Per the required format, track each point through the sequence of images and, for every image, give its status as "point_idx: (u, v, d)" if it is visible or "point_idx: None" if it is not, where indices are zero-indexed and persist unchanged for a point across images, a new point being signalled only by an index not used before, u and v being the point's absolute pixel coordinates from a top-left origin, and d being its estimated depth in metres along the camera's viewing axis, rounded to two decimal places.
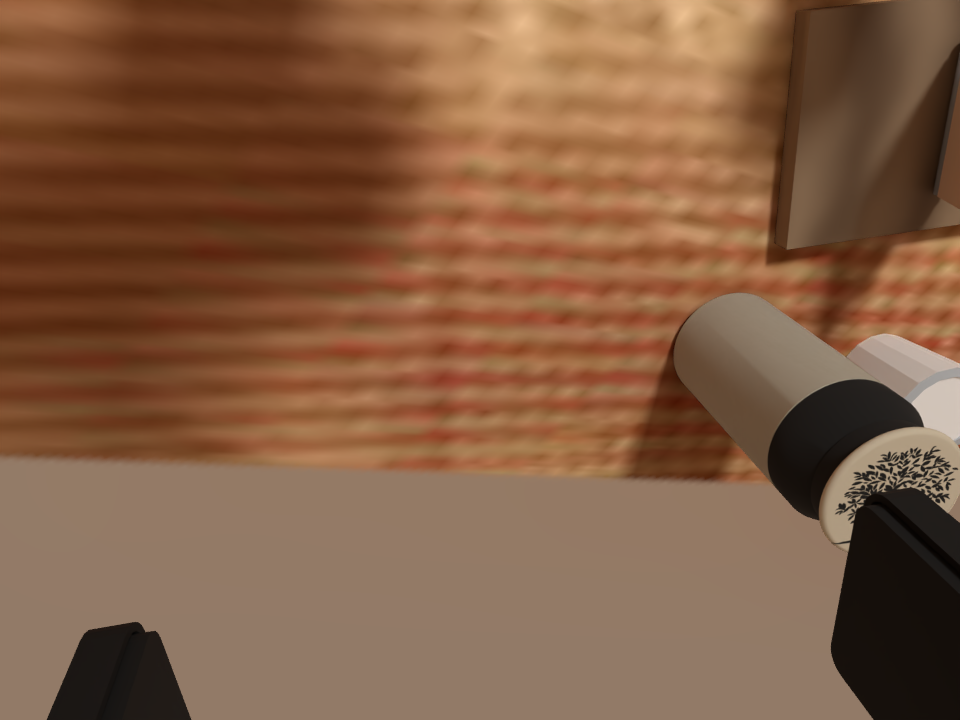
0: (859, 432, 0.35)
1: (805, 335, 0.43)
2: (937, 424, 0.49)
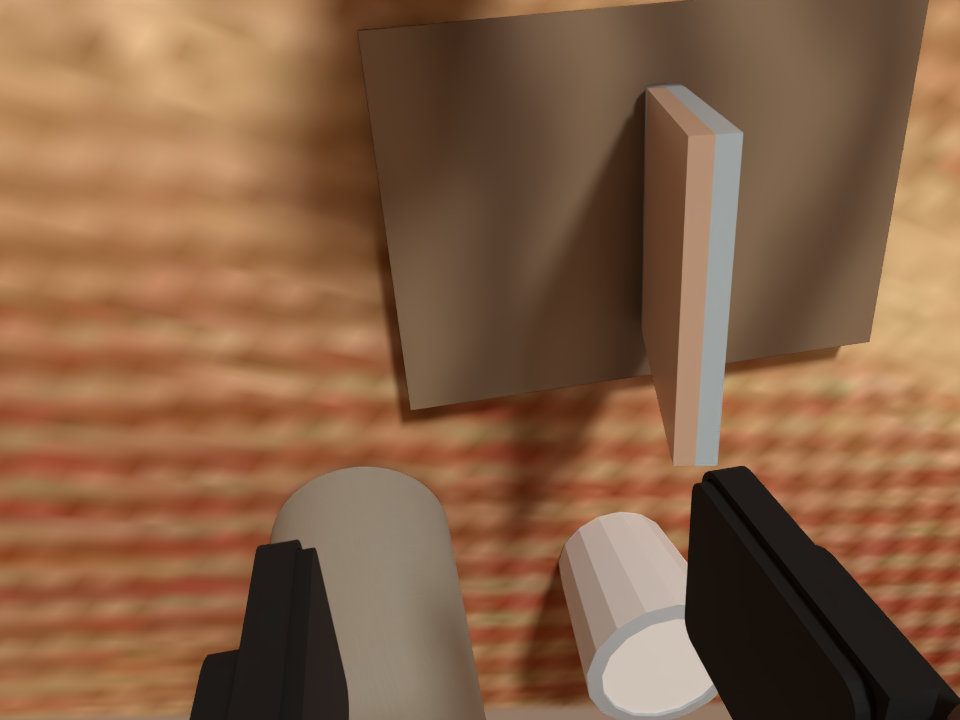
0: None
1: (381, 580, 0.25)
2: (663, 680, 0.31)
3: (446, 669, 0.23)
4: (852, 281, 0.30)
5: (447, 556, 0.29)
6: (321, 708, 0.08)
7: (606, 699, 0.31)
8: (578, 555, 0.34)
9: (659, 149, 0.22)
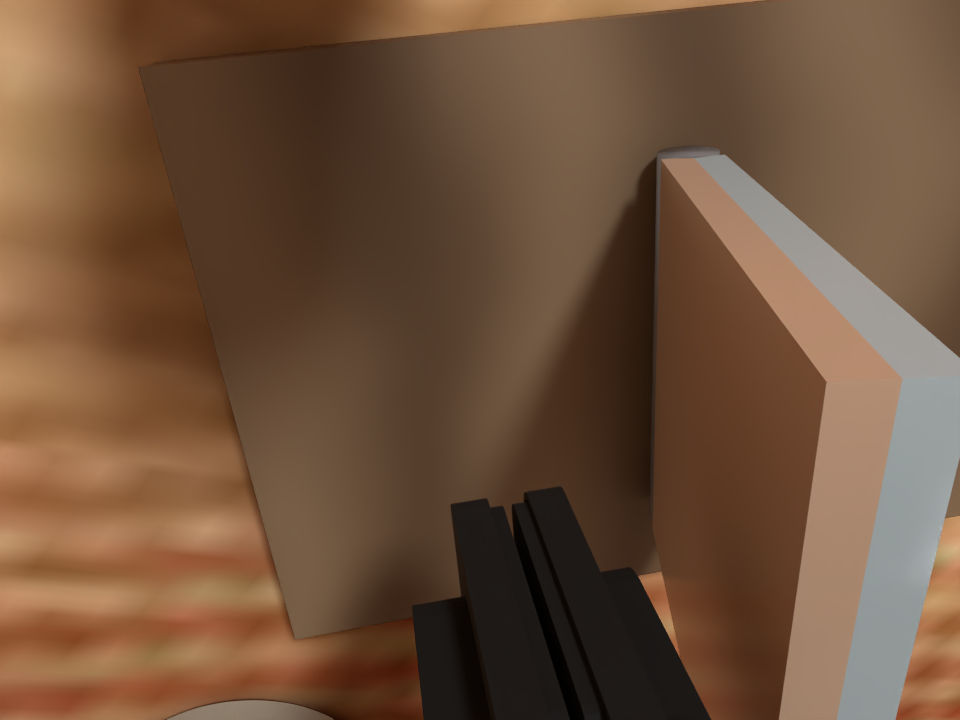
0: None
1: None
2: None
3: None
4: None
5: None
6: None
7: None
8: None
9: (696, 294, 0.11)
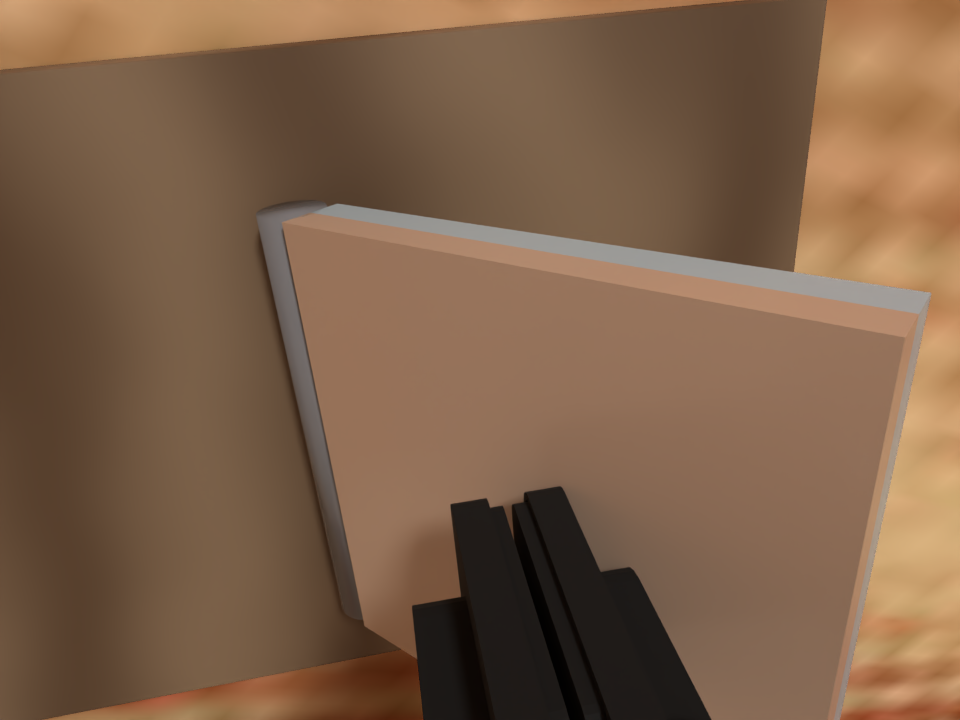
0: None
1: None
2: None
3: None
4: None
5: None
6: None
7: None
8: None
9: (472, 343, 0.10)
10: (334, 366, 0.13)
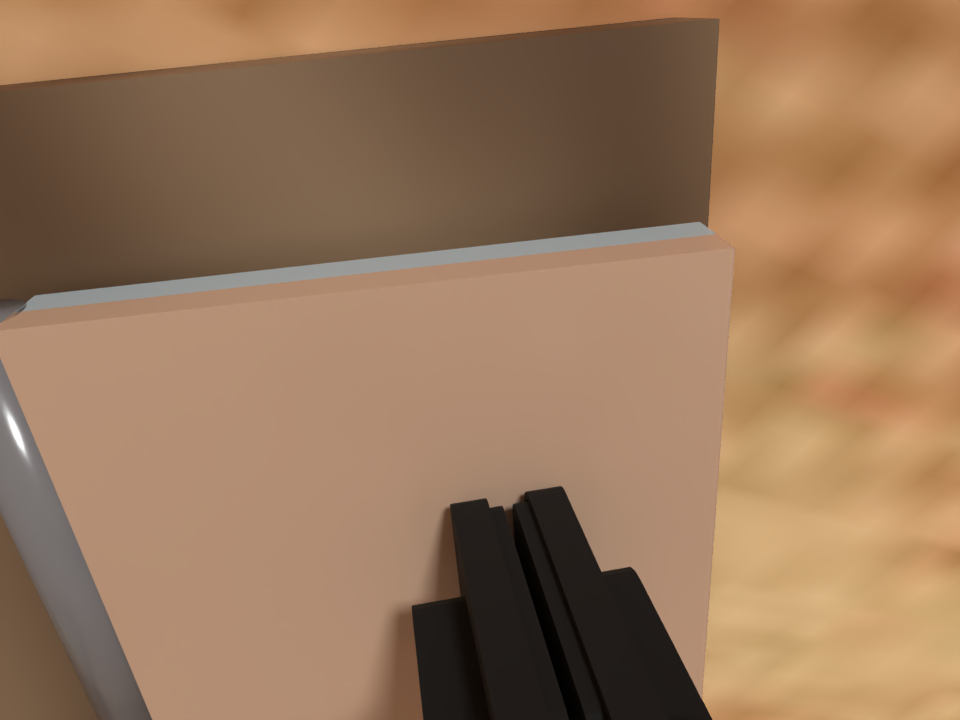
0: None
1: None
2: None
3: None
4: None
5: None
6: None
7: None
8: None
9: (334, 388, 0.09)
10: (110, 494, 0.10)
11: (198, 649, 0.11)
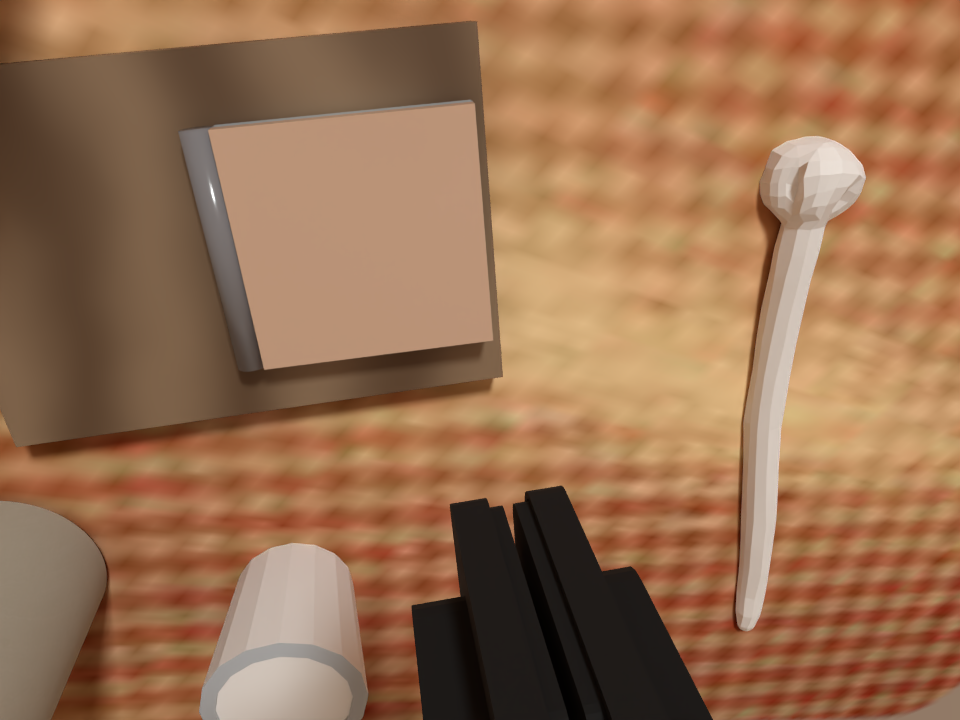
0: None
1: None
2: (287, 716, 0.31)
3: None
4: None
5: (52, 593, 0.29)
6: None
7: None
8: (239, 587, 0.34)
9: (330, 157, 0.25)
10: (244, 201, 0.26)
11: (273, 279, 0.27)
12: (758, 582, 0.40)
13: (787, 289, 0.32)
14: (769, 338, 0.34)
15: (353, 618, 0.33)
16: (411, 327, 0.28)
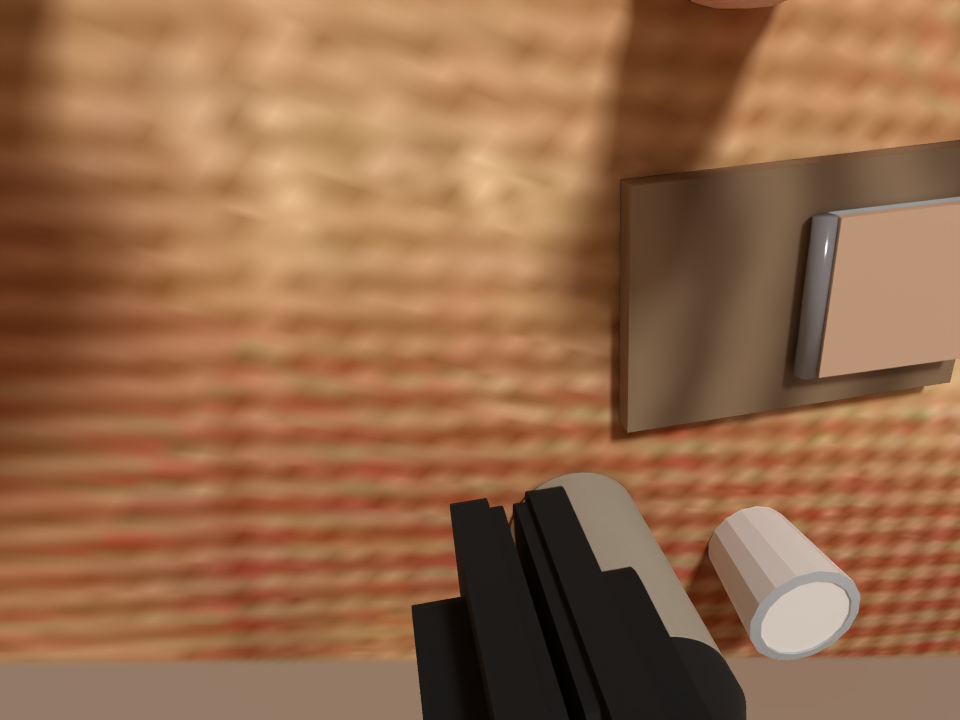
0: None
1: (631, 551, 0.37)
2: (802, 627, 0.43)
3: (689, 607, 0.35)
4: None
5: (653, 536, 0.41)
6: None
7: (761, 640, 0.43)
8: (729, 538, 0.46)
9: (909, 234, 0.37)
10: (846, 263, 0.38)
11: (846, 315, 0.39)
12: None
13: None
14: None
15: None
16: (921, 348, 0.40)
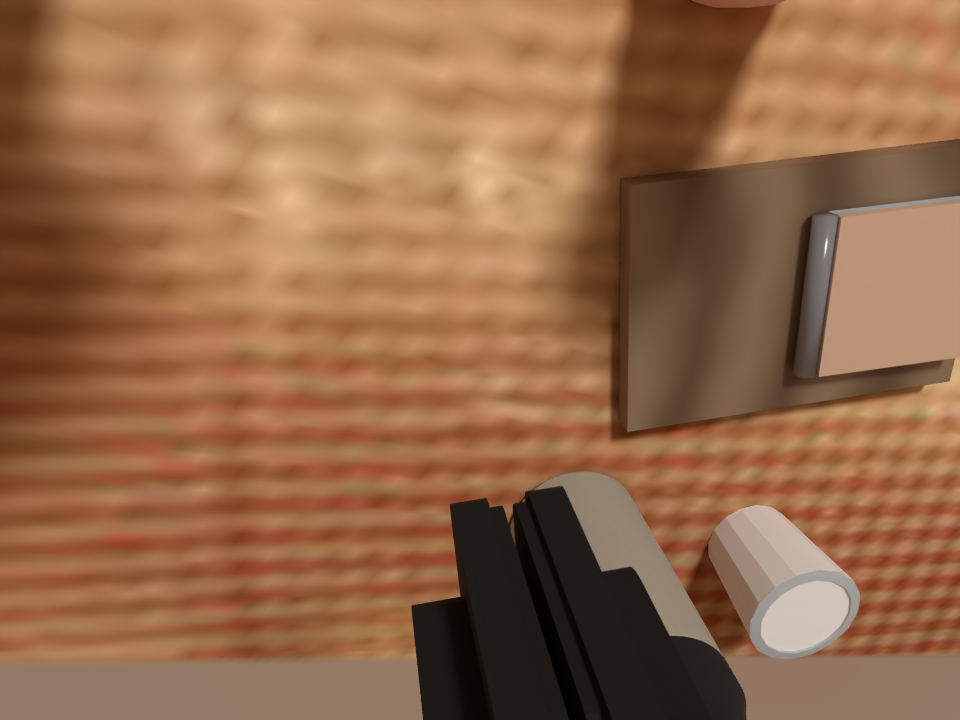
0: None
1: (631, 550, 0.37)
2: (802, 626, 0.43)
3: (689, 606, 0.35)
4: None
5: None
6: None
7: (761, 639, 0.43)
8: (729, 537, 0.46)
9: (909, 233, 0.37)
10: (846, 262, 0.38)
11: (846, 314, 0.39)
12: None
13: None
14: None
15: None
16: (921, 347, 0.40)
